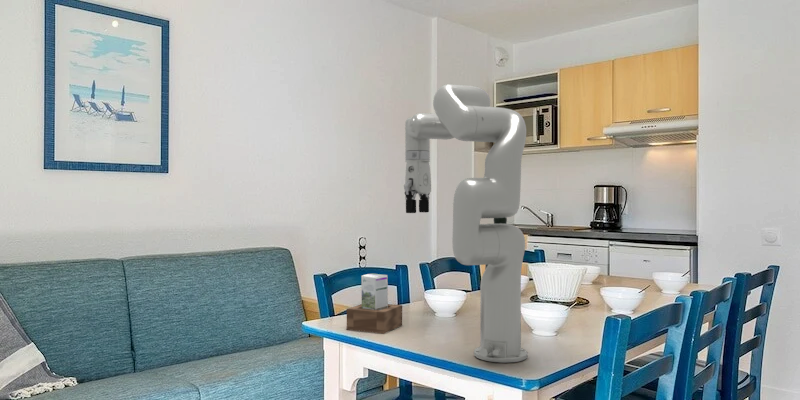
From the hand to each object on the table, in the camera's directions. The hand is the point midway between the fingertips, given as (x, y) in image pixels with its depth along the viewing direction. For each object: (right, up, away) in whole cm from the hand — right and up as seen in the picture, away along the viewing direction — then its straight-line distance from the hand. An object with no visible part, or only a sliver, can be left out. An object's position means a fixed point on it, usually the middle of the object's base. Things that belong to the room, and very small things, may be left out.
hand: (417, 212), depth 184 cm
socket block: (-13, -33, -10) cm, 37 cm away
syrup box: (-13, -33, -11) cm, 37 cm away
